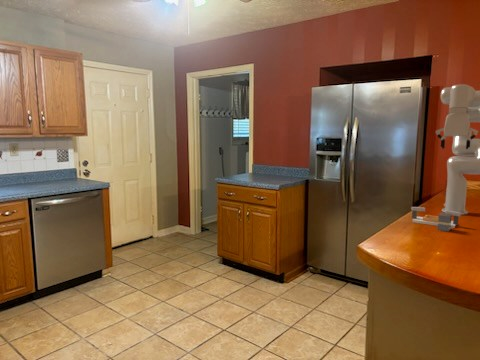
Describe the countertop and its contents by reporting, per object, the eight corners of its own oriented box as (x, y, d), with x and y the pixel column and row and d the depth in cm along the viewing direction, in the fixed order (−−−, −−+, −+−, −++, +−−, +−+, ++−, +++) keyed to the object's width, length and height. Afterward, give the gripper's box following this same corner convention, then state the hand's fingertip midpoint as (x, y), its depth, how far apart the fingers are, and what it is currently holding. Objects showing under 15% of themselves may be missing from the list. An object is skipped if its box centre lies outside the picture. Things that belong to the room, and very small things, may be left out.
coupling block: (437, 230, 162) (438, 215, 161) (439, 227, 167) (440, 212, 166) (448, 231, 160) (450, 216, 159) (450, 229, 165) (451, 214, 164)
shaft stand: (408, 221, 177) (409, 208, 177) (412, 218, 185) (413, 205, 184) (458, 228, 165) (459, 214, 164) (460, 224, 173) (461, 210, 172)
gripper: (480, 112, 164) (477, 149, 166) (438, 113, 174) (435, 148, 176) (480, 110, 158) (476, 149, 160) (436, 112, 168) (433, 148, 170)
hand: (454, 148), depth 168 cm, fingers open, 9 cm apart
